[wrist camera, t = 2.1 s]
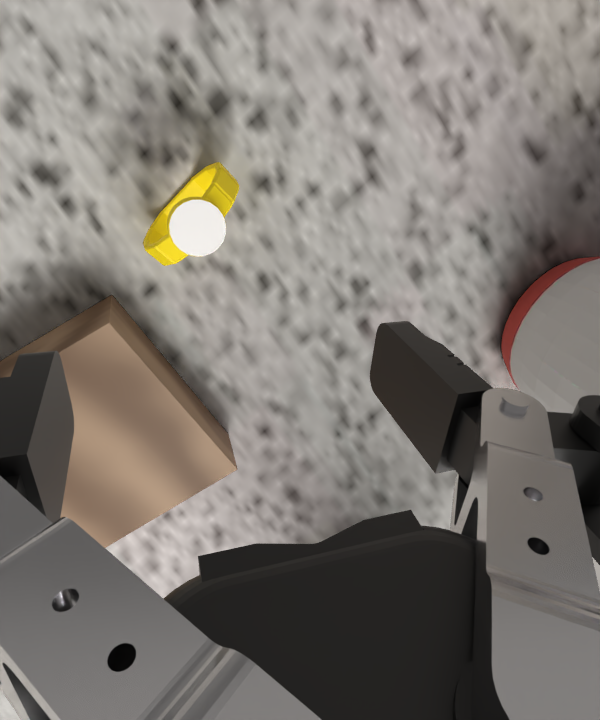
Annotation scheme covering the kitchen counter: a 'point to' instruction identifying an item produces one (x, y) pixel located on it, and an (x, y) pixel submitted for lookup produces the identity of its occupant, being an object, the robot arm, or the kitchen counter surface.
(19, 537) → the robot arm
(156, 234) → the watch
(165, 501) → the block
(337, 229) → the kitchen counter surface
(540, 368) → the citrus juicer
